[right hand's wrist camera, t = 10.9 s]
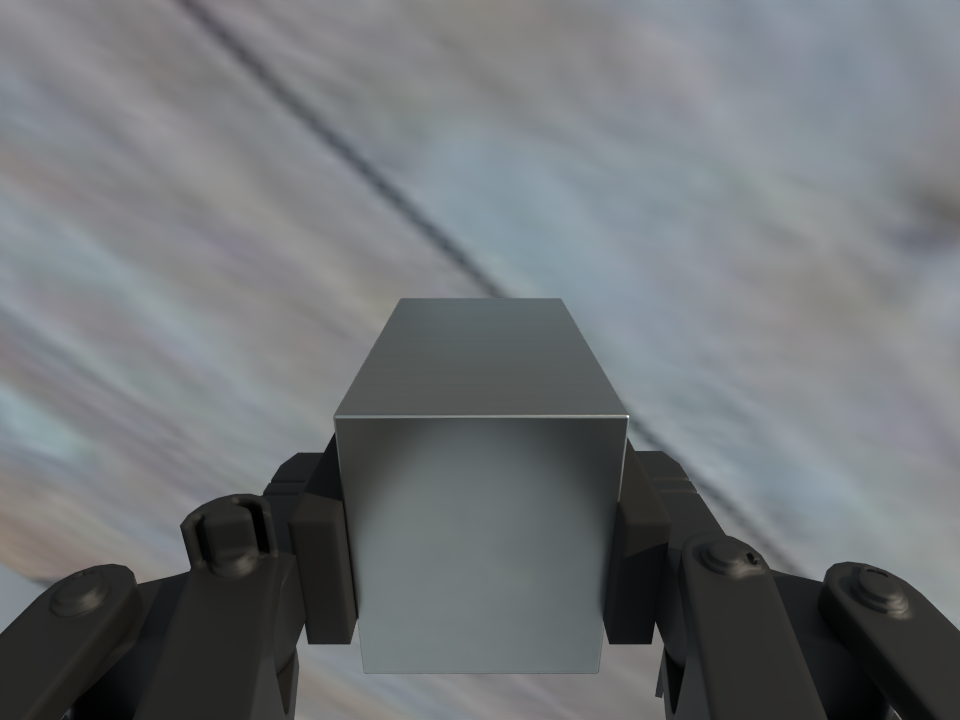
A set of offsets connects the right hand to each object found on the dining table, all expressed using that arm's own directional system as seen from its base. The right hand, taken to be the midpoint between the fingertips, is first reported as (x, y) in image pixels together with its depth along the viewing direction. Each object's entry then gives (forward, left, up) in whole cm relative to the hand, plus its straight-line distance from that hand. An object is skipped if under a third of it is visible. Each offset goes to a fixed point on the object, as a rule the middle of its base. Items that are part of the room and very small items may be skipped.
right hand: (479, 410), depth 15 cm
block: (0, 0, -1) cm, 1 cm away
